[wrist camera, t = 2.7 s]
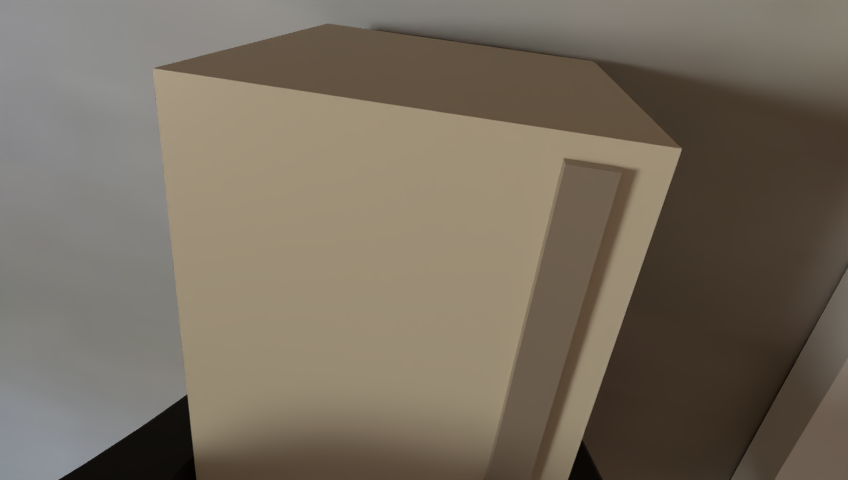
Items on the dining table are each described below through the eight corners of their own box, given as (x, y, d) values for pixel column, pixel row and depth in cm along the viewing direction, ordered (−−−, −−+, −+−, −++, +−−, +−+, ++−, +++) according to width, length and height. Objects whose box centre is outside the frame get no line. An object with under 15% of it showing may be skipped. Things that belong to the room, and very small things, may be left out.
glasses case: (467, 566, 13) (448, 834, 9) (310, 532, 14) (222, 777, 9) (593, 61, 8) (688, 154, 4) (327, 23, 8) (142, 70, 4)
